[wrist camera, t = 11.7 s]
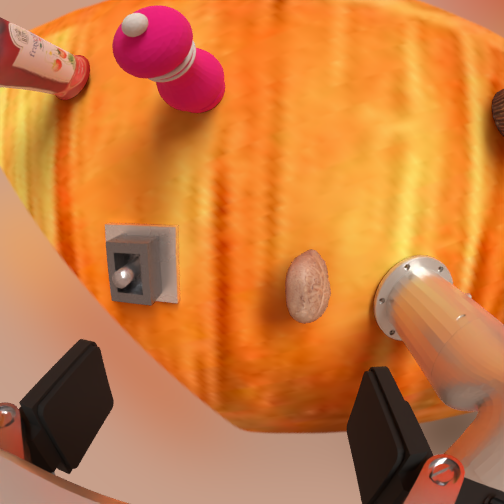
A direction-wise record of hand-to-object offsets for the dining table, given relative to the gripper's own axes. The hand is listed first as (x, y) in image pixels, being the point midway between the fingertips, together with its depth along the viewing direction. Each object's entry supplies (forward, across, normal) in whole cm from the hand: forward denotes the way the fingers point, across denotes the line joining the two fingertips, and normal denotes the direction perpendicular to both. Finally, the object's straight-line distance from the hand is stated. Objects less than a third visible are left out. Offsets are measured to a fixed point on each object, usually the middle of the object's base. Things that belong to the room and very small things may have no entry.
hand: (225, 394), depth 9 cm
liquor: (+28, +27, -21) cm, 45 cm away
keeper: (+28, +15, +5) cm, 32 cm away
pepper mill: (+28, +8, -17) cm, 34 cm away
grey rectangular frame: (+27, +15, +5) cm, 31 cm away
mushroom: (+28, -6, +5) cm, 30 cm away
